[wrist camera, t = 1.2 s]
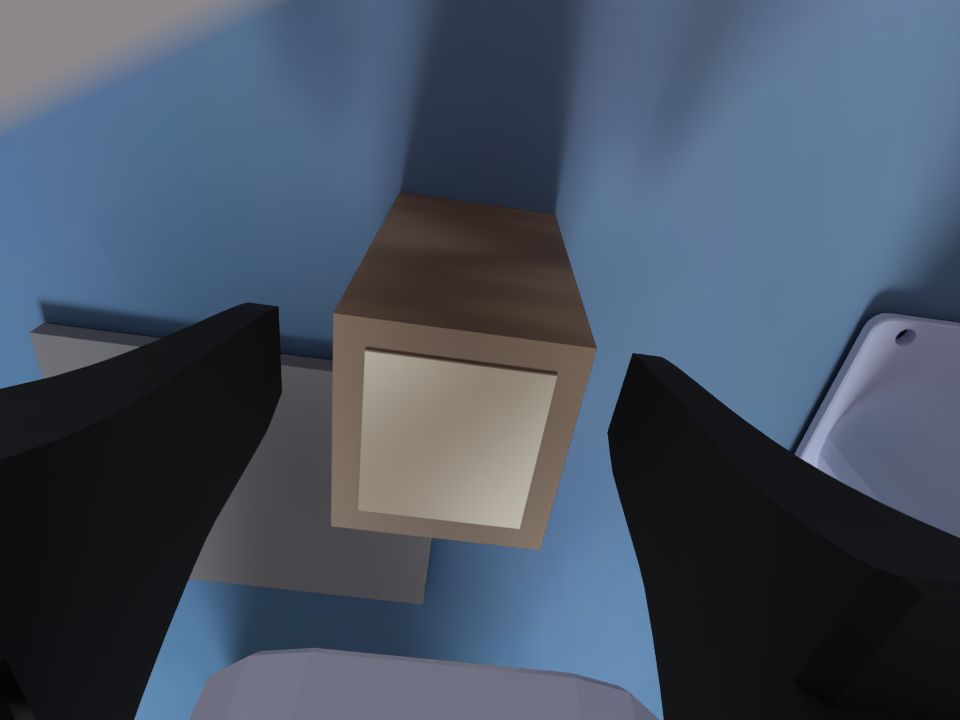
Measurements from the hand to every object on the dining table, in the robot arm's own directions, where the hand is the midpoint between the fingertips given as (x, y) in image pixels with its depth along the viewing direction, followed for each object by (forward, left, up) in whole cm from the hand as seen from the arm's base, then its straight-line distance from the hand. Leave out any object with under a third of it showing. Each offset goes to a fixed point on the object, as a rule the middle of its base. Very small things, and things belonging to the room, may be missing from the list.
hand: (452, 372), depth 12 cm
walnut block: (0, 0, -5) cm, 5 cm away
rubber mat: (+6, +8, -5) cm, 11 cm away
